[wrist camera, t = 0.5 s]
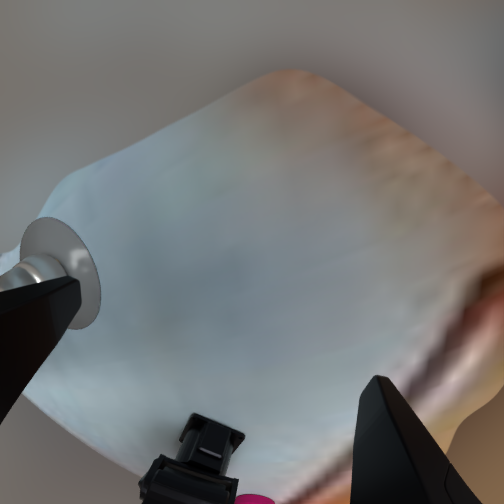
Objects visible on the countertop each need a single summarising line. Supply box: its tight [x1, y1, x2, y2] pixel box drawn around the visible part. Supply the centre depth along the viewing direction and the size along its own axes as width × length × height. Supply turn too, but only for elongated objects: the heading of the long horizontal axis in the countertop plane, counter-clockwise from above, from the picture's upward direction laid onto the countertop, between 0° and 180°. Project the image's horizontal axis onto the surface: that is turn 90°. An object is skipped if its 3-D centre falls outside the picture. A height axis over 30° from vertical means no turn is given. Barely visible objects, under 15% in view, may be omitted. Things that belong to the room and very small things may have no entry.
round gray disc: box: [20, 217, 101, 330], centre depth 29 cm, size 13×13×1 cm
